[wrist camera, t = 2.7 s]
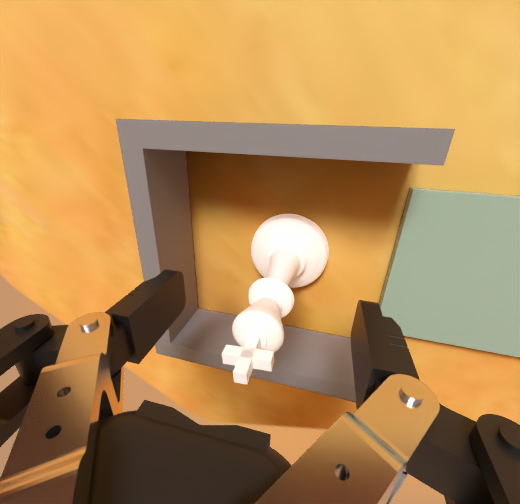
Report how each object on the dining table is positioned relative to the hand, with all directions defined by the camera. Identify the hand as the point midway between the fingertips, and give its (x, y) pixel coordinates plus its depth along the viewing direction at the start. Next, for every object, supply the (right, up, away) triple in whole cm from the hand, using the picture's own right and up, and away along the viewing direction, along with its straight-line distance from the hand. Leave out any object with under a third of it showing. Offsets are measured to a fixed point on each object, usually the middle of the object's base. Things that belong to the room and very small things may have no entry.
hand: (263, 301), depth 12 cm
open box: (+1, +2, +5) cm, 6 cm away
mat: (+12, +1, +3) cm, 12 cm away
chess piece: (+2, +2, +5) cm, 6 cm away
